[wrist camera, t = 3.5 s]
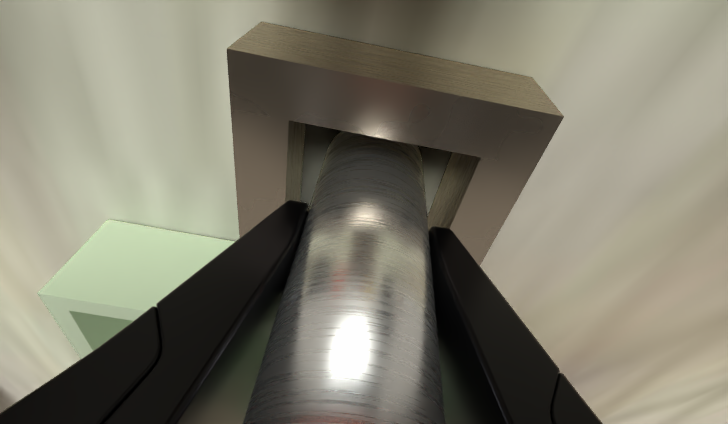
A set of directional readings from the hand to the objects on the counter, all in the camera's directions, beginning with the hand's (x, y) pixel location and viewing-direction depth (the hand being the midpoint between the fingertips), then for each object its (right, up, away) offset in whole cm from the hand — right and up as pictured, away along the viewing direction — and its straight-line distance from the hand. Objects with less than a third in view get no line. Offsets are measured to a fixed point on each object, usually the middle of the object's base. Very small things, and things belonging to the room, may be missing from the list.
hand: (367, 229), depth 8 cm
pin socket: (0, +2, +2) cm, 3 cm away
